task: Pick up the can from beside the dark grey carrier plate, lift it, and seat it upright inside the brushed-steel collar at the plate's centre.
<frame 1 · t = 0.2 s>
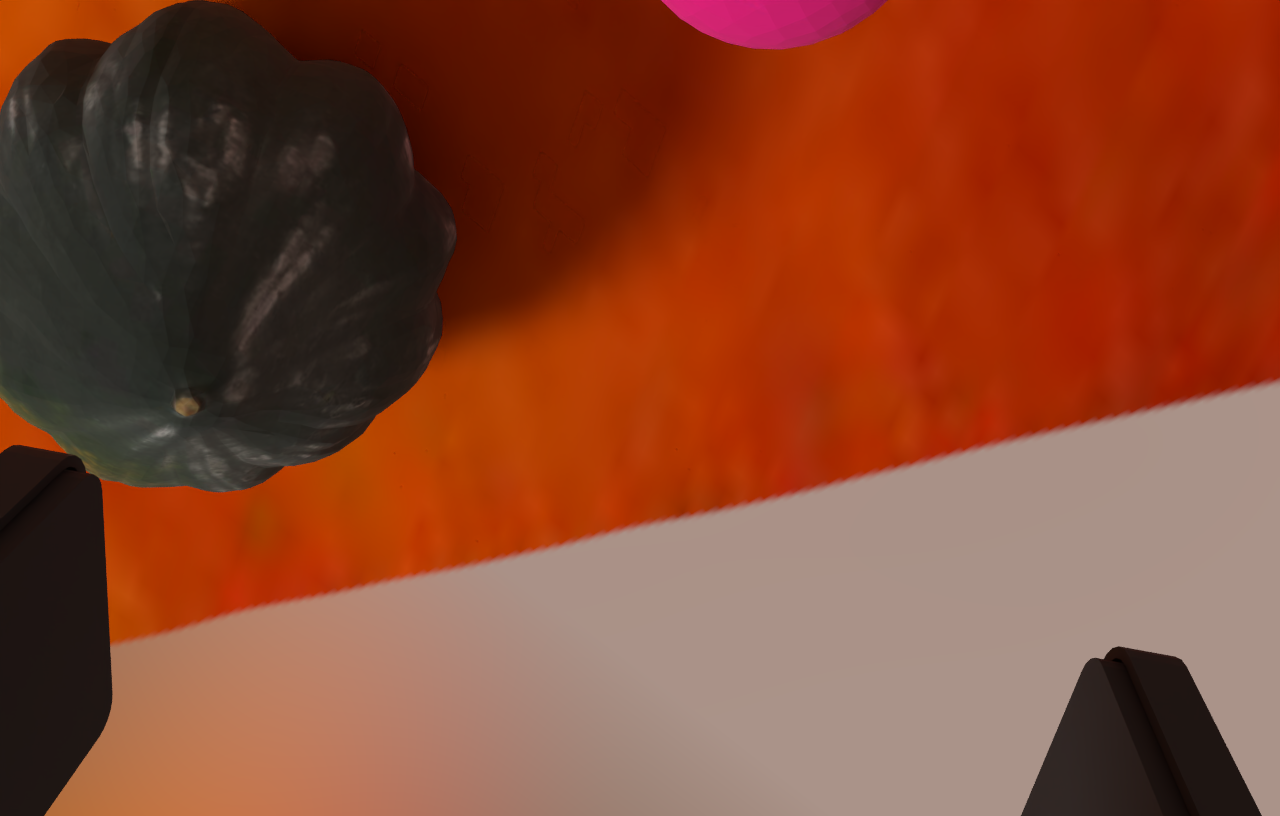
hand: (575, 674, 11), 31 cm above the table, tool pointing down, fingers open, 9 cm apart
squash: (279, 197, 43), on the table
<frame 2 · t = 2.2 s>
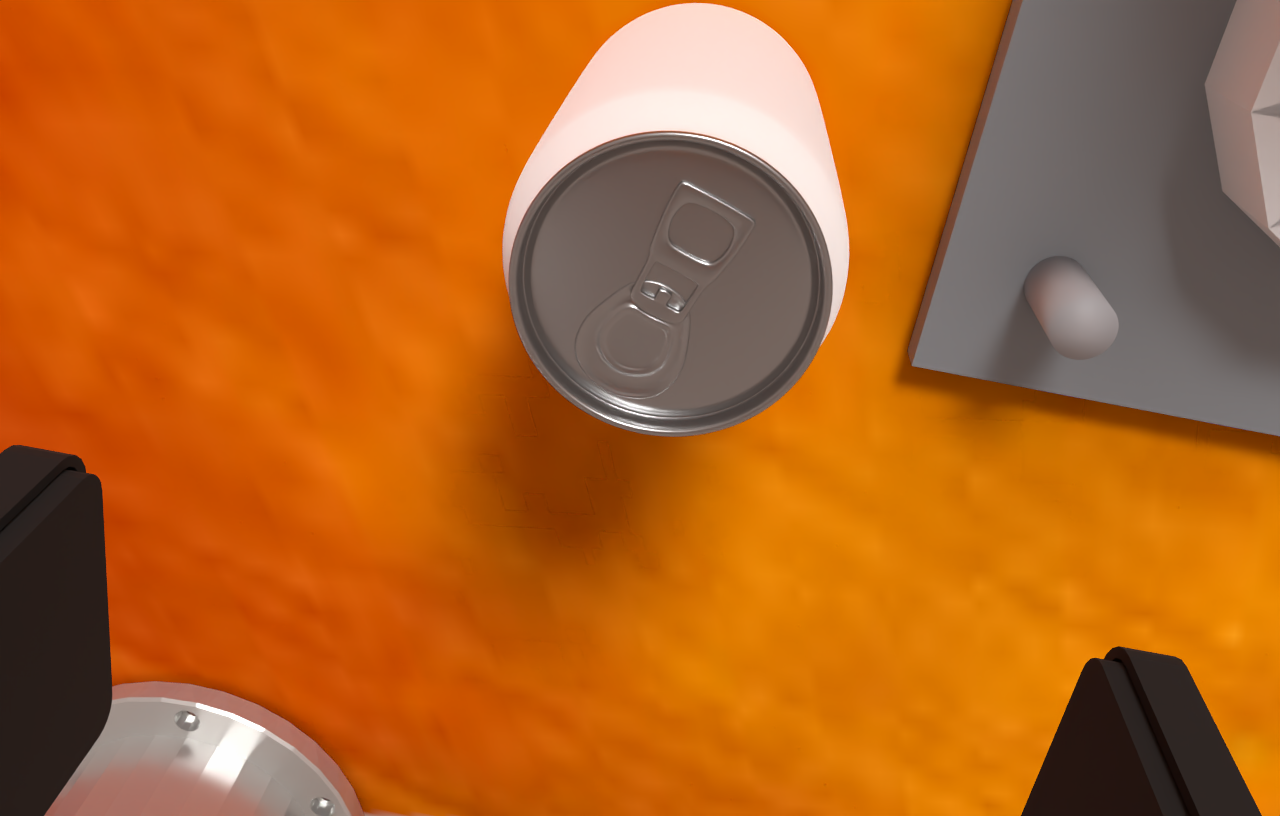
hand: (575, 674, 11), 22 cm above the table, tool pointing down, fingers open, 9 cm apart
can: (696, 126, 32), on the table
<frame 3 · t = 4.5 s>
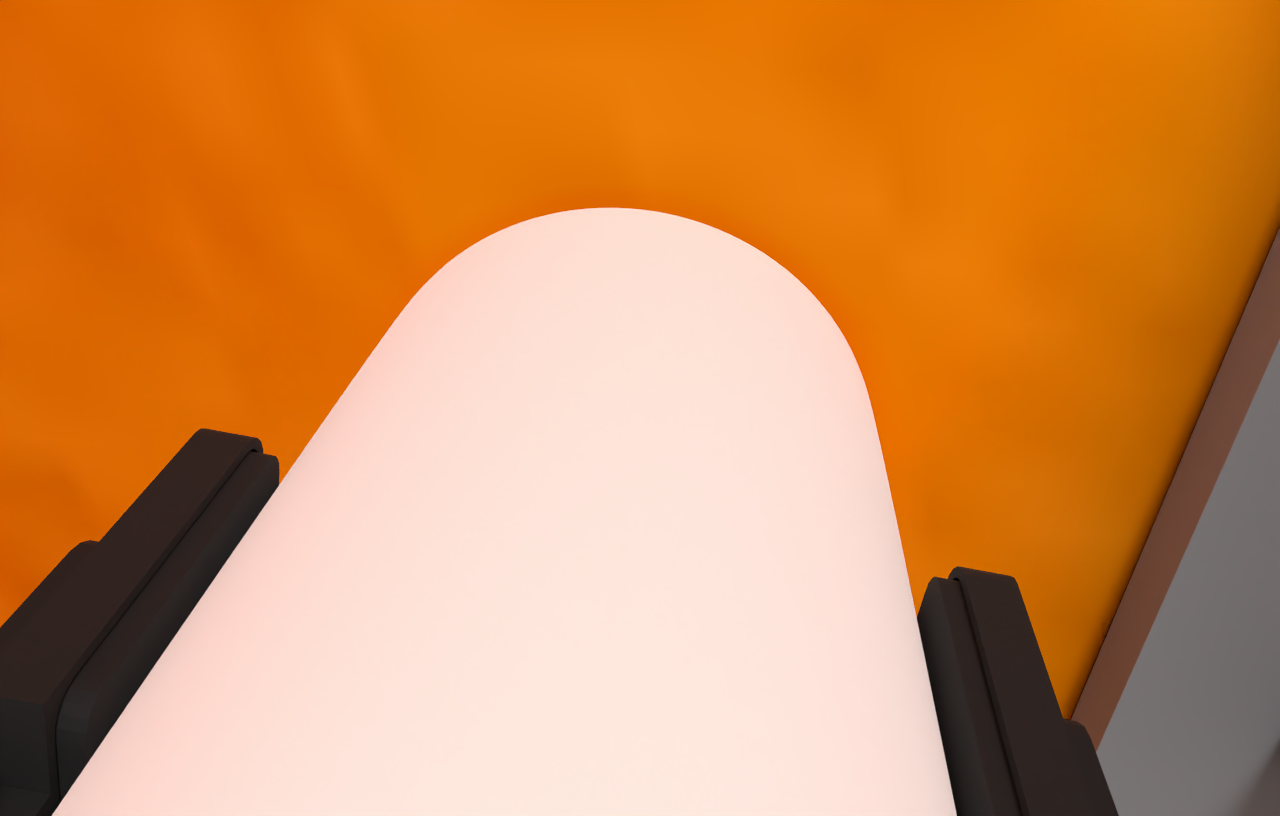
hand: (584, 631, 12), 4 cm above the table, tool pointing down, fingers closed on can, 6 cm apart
can: (623, 428, 16), on the table, touching gripper
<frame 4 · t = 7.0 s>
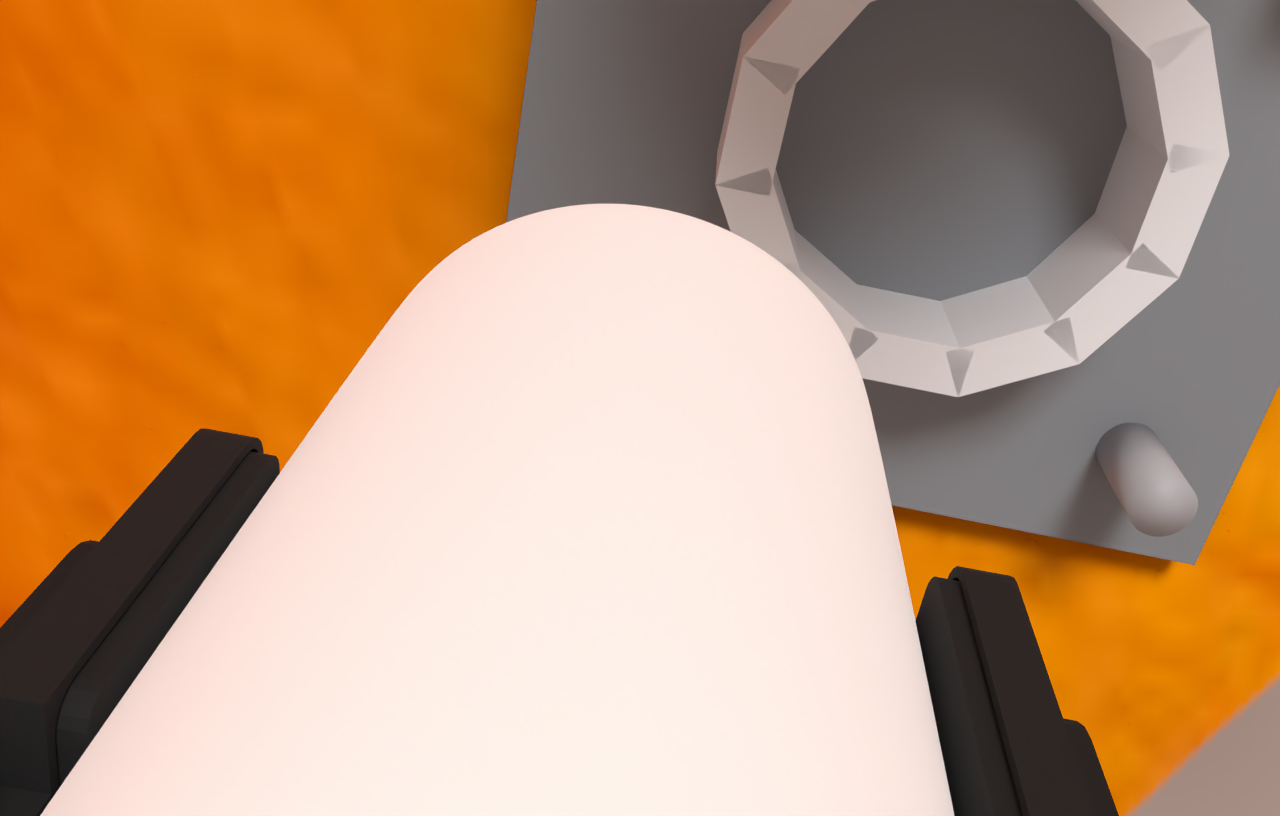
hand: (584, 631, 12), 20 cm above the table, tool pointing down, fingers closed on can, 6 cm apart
carrier plate: (939, 127, 29), on the table
can: (620, 424, 16), point 16 cm above the table, touching gripper
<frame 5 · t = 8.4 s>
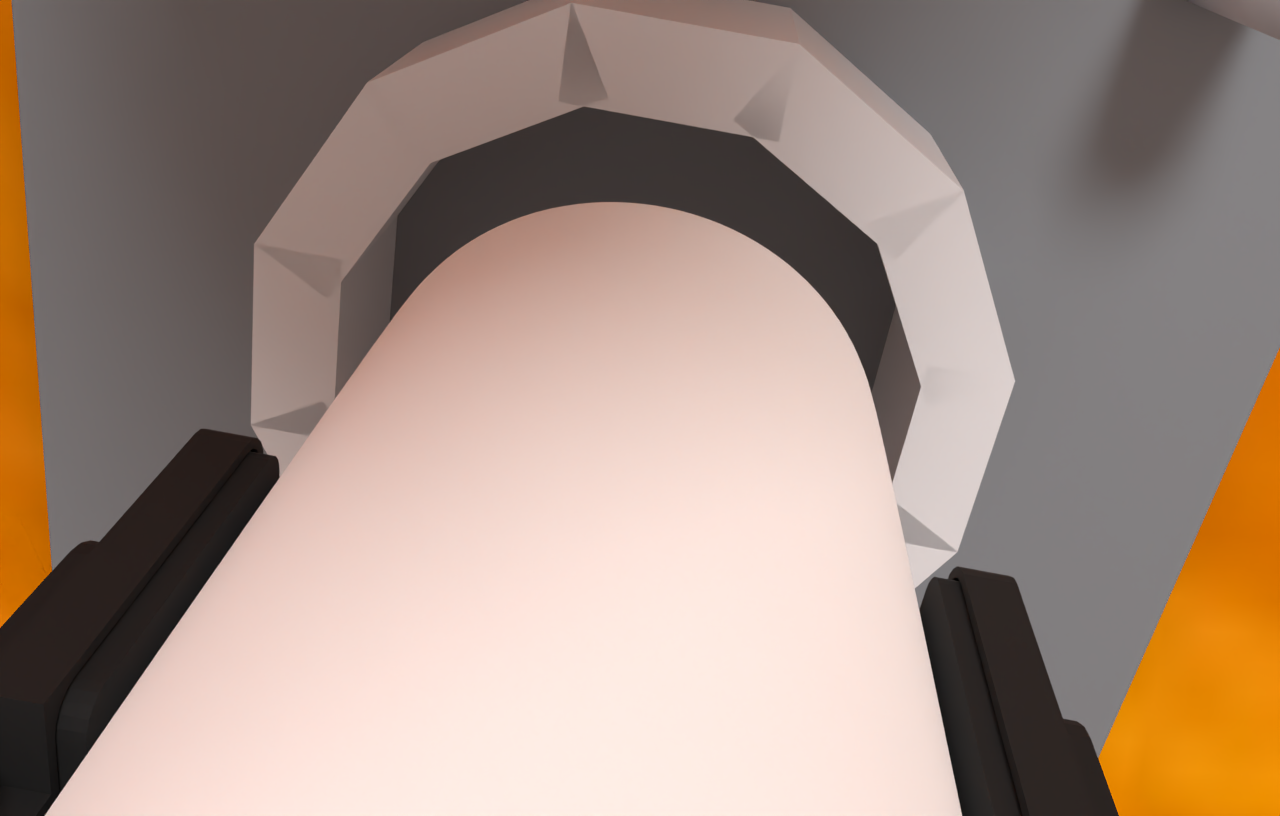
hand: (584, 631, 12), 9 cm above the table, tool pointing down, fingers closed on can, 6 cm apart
carrier plate: (640, 300, 20), on the table
can: (624, 424, 16), point 5 cm above the table, touching gripper
when the fingers open (6 cm above the table, at t = 9.4 s): can drops 1 cm, resting on carrier plate.
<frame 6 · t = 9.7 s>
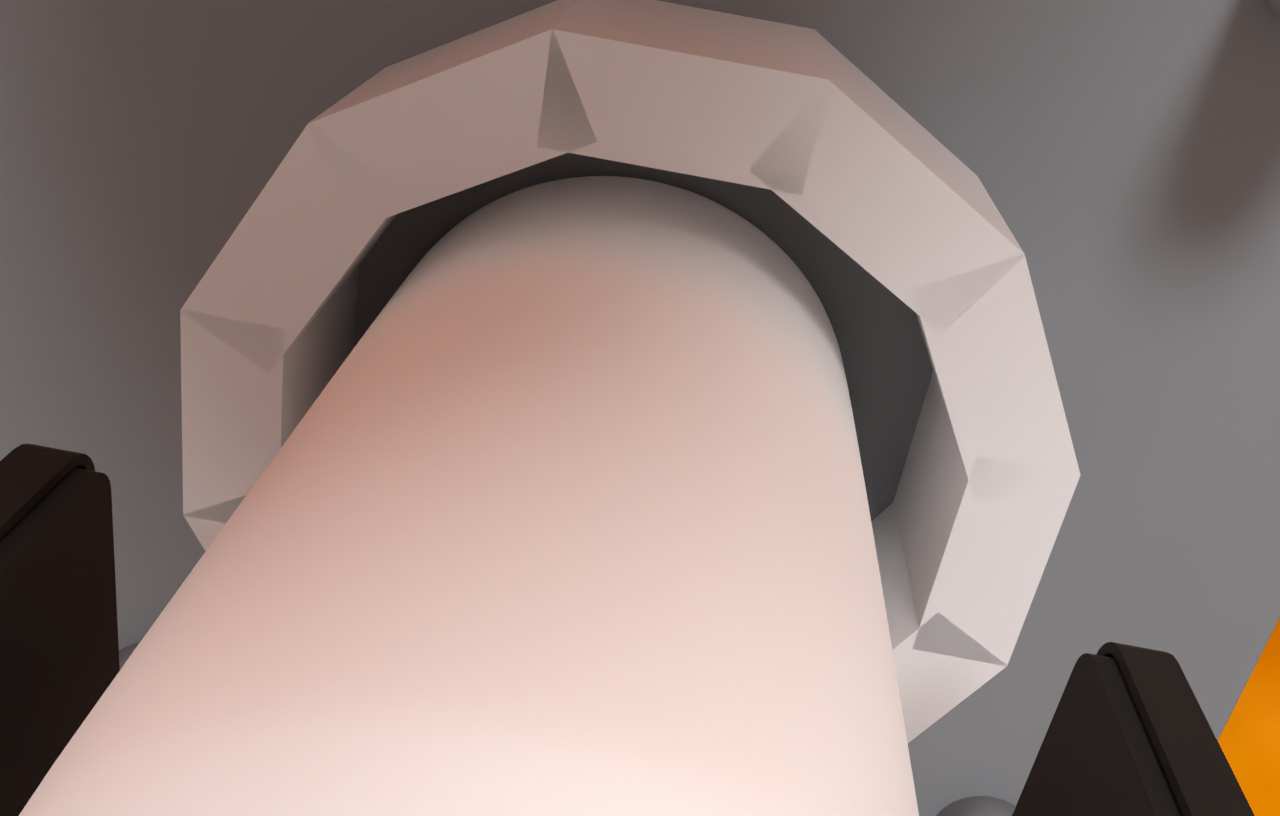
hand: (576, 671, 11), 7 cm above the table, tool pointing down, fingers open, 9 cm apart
carrier plate: (639, 357, 18), on the table
can: (615, 383, 17), point 1 cm above the table, touching carrier plate
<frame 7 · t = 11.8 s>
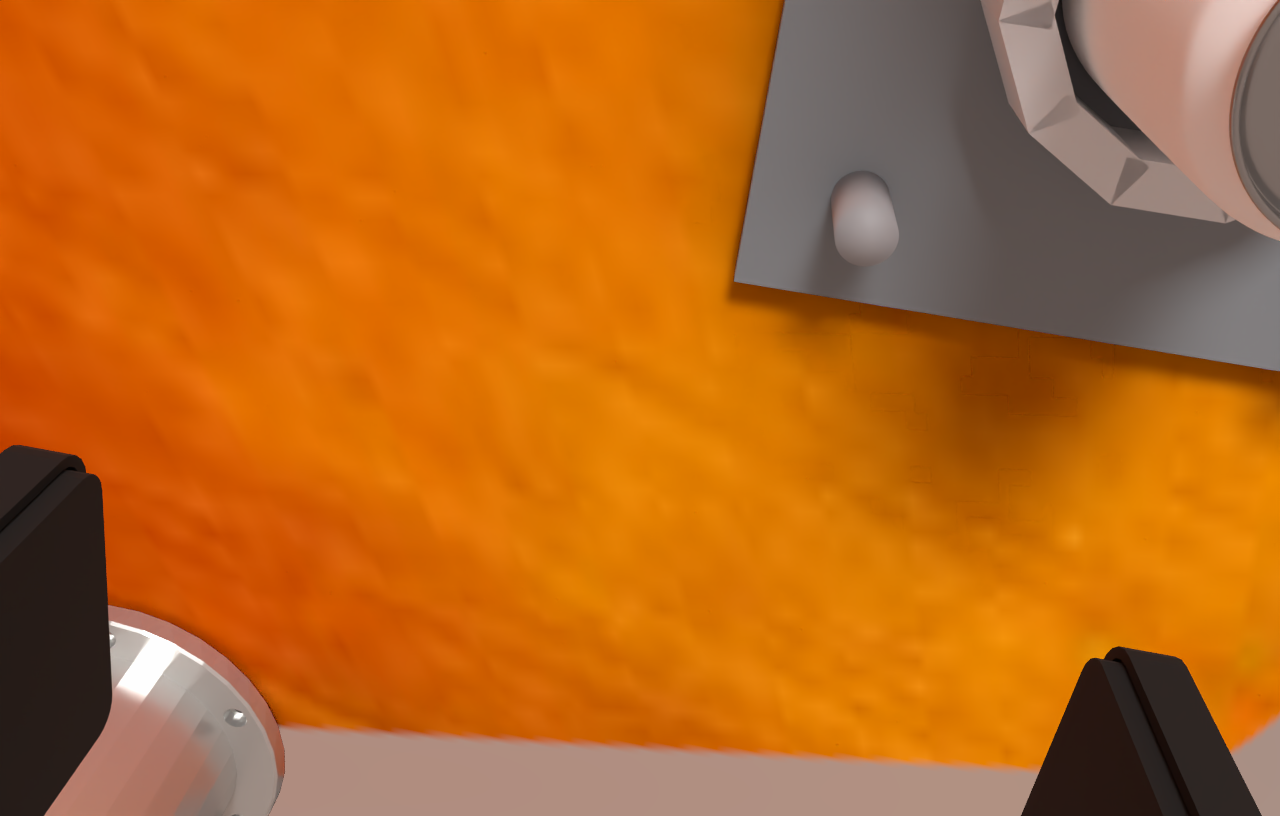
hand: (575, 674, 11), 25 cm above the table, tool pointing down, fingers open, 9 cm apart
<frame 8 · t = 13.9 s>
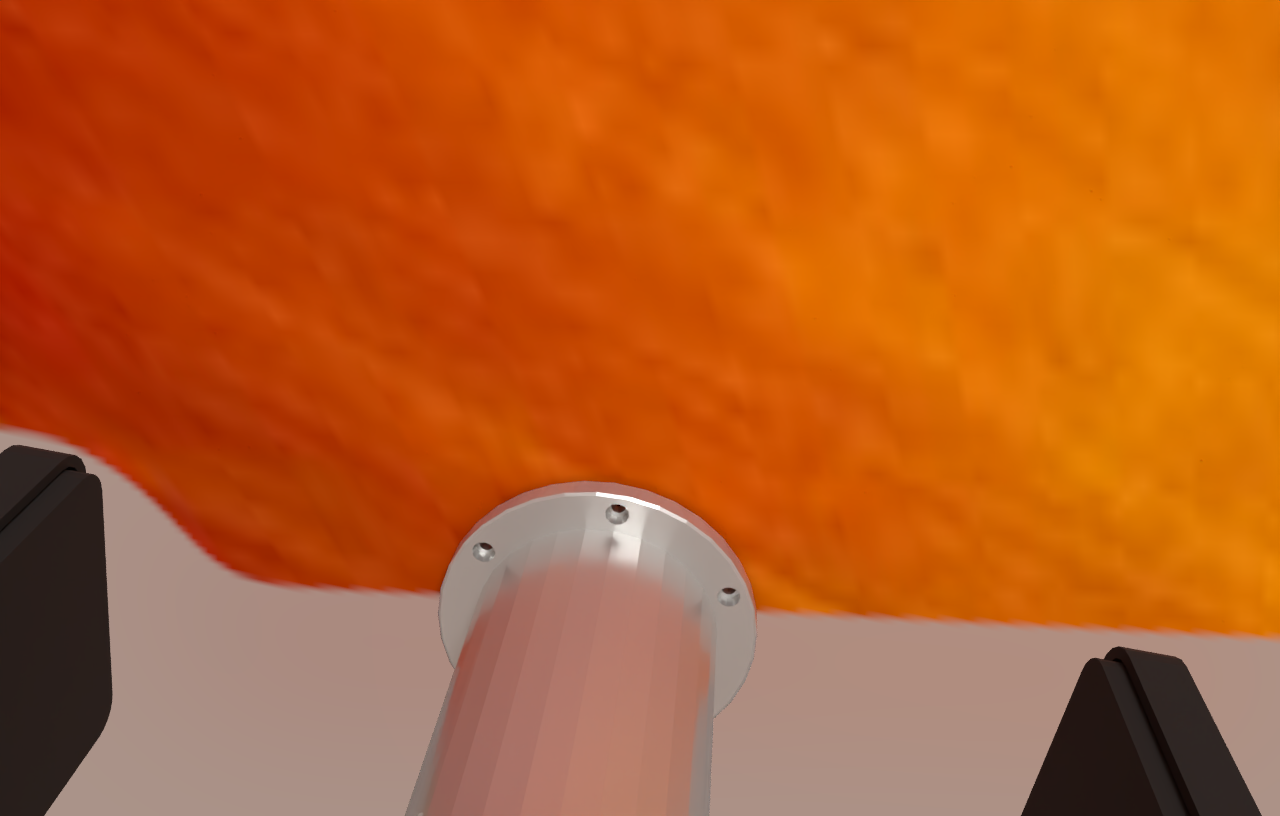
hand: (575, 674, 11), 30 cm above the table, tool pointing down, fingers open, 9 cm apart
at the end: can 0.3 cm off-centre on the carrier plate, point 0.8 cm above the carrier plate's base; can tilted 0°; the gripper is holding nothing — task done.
